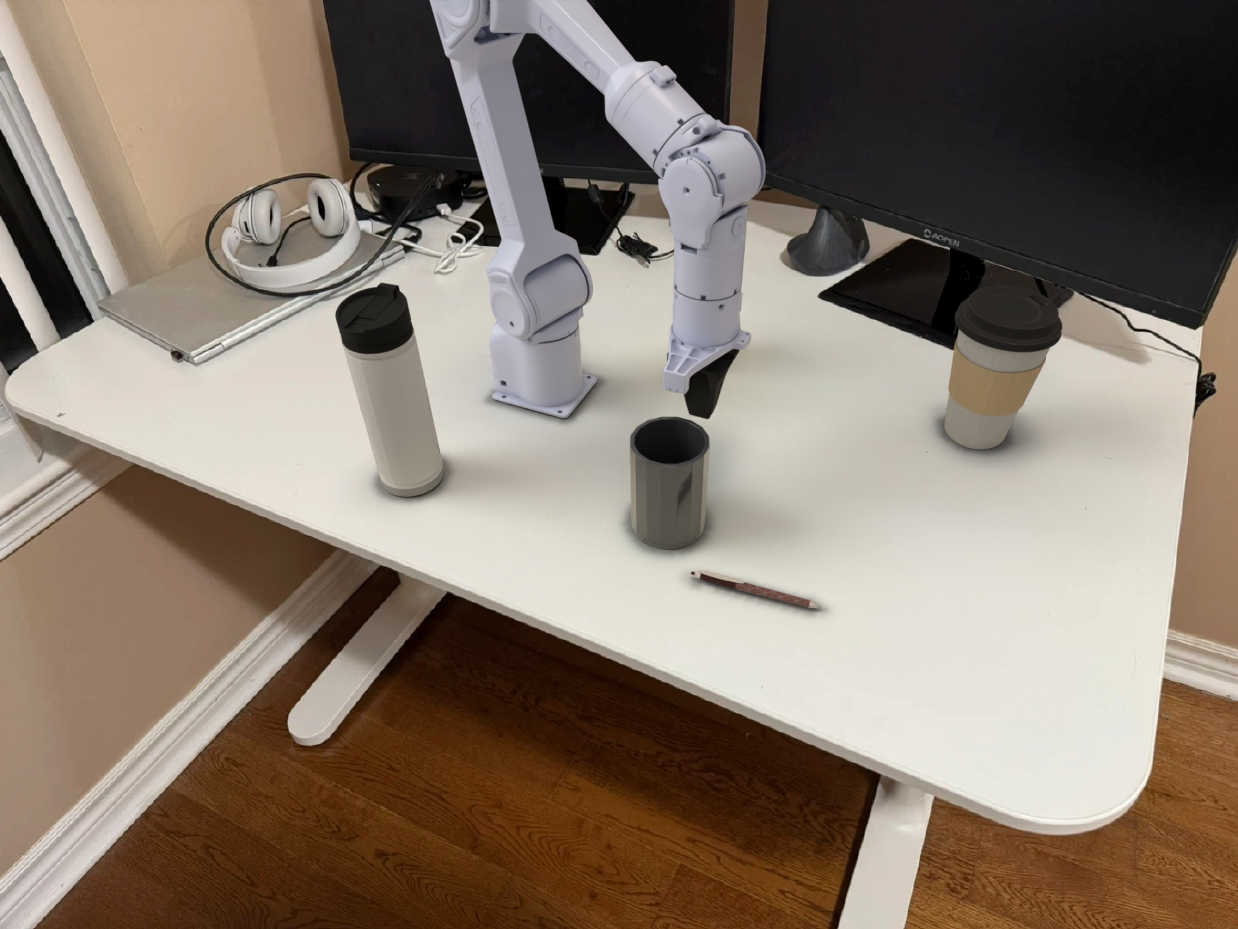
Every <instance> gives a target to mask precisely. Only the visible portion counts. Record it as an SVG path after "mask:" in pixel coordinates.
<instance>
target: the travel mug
mask: <svg viewBox="0 0 1238 929" xmlns="http://www.w3.org/2000/svg"><path fill="white" fill-rule="evenodd" d="M334 316H335V321H336V325H337V329H338V332H339V335H340V338H341V345H342V348H343V352H344V355H345V359H346V362H347V366H348V369H349V373H350V377H351V381H352V384H353V387H354V389H355V390H354V391H355V394H356V398H357V402H358V405H359V408H360V412H361V416H362V419H363V422H364V423H363V424H364V426H365V430H366V433H367V436H368V441H369V444H370V448H371V451H372V454H373V458H374V462H375V464H376V469H377V472H378V475H379V479H380V482H381V485H382V487H383V489H384V490H385V491H387V492H388V493H390V494H392V495H394V496H398V497H403V498H404V497H407V498H408V497H409V498H410V497H417V496H420V495H424V494H426V493H429V492H430V491H432V490H433V489H434V488H436V487H437V486H438V485H439V484H440V483H441V481H442V479H443V477H444V475H445V467H444V463H443V459H442V453H441V449H440V444H439V440H438V435H437V430H436V425H435V421H434V415H433V412H432V406H431V403H430V398H429V397H430V396H429V392H428V388H427V387H428V386H427V383H426V378H425V375H424V374H425V373H424V369H423V364H422V360H421V355H420V350H419V344H418V340H417V337H416V335H415V334H416V333H415V328H414V324H413V322H412V316H411V312H410V307H409V302H408V299H407V296H406V295H405V294H404V293H403V292H402V291H401V289H400V285H398V284H394V283H388V282H387V283H386V282H380V283H379V284H377V286H372V287H367V288H363V289H360V290H358V291H355V292H354V293H351V294H350V295H348V296H347V297H346V298H344V299H343V300H342V301H341V302H340V303H339V305H338V306H337V307H336V310H335V314H334Z"/></svg>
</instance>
